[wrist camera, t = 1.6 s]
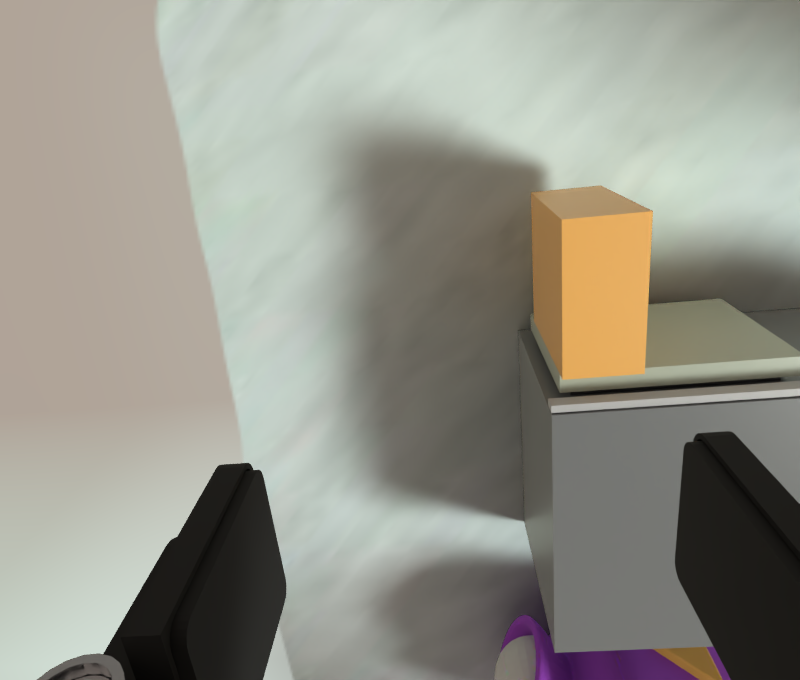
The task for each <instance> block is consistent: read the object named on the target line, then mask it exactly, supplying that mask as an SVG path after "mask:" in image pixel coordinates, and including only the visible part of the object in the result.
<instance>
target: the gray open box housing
mask: <svg viewBox="0 0 800 680" xmlns="http://www.w3.org/2000/svg"><path fill="white" fill-rule="evenodd" d="M743 314H745V315H746V316H748V317H749V318H751V319H752V320H754V321H755V322H757V323H758V324H760V325H761V326H762V327H764V328H765V329H767V330H768V331H770V332H771V333H773V334H774V335H776V336H777V337H779V338H780V339H782V340H783V341H785V342H786V343H788V344H789V345H791V346H792V347H794V348H795V349H797V350H798V351H800V308H795V309H782V310H769V311H757V312H744V313H743ZM518 341H519V371H520V402H521V432H522V463H523V493H524V522H525V527H526V531H527V535H528V540H529V544H530V548H531V553H532V557H533V561H534V566H535V570H536V574H537V579H538V583H539V587H540V592H541V596H542V600H543V605H544V609H545V613H546V618H547V622H548V626H549V631H550V635H551V639H552V644H553V648H554V652H555V653H562V652H587V651H613V650H638V649H663V648H689V647H714V646H713V645H712V643H711V641H710V639H709V637H708V635H707V633H706V631H705V629H704V627H703V625H702V624H701V622H700V620H699V618H698V616H697V614H696V612H695V610H694V608H693V606H692V605H691V603H690V601H689V599H688V597H687V595H686V593H685V591H684V589H683V587H682V585H681V584H680V581H679V579H678V576H677V573H676V568H675V551H676V538H677V526H678V513H679V500H680V488H681V475H682V463H683V450H684V446H685V443H687V442H693V439H694V437H695V435H696V434H697V433H708V432H723V431H731V432H733V433H734V434H735V435H736V436H737V437H738V438H739V439H740V440H741V441H742V442H743V443H744V444H745V445H746V446H747V448H748V449H749V450H750V451H751V452H752V453H753V454H754V455H755V456H756V457H757V458H758V459H759V461H760V462H761V463H762V464H763V465H764V466H765V467H766V468H767V469H768V470H769V471H770V472H771V474H772V475H773V476H774V477H775V478H776V479H777V480H778V481H779V482H780V483H781V484H782V485H783V487H784V488H785V489H786V490H787V491H788V492H789V493H790V494H791V495H792V496H793V497H794V498H795V500H796V501H797V502H798V503H799V504H800V376H791V377H777V378H763V379H749V380H735V381H721V382H707V383H693V384H679V385H665V386H651V387H637V388H623V389H609V390H595V391H581V392H567V393H560V392H559V390H558V388H557V386H556V383H555V381H554V379H553V377H552V375H551V372H550V370H549V368H548V366H547V364H546V361H545V359H544V357H543V355H542V353H541V350H540V348H539V346H538V344H537V341H536V339H535V337H534V335H533V333H532V330H518Z"/></svg>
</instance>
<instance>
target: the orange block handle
mask: <svg viewBox="0 0 800 680" xmlns="http://www.w3.org/2000/svg"><path fill="white" fill-rule="evenodd" d="M531 213H532V257H533V301H534V314H531V330H532V333H533V335H534V337H535V339H536V341H537V344H538V346H539V348H540V350H541V353H542V355H543V357H544V359H545V361H546V364H547V366H548V368H549V370H550V372H551V375H552V377H553V379H554V381H555V383H556V386H557V388H558V390H559V392H560V393H567V392H581V391H595V390H609V389H623V388H637V387H651V386H665V385H679V384H693V383H707V382H721V381H735V380H749V379H763V378H777V377H791V376H800V351H798V350H797V349H795V348H794V347H792V346H791V345H789V344H788V343H786V342H785V341H783V340H782V339H780V338H779V337H777V336H776V335H774V334H773V333H771V332H770V331H768V330H767V329H765V328H764V327H762V326H761V325H760V324H758V323H757V322H755V321H754V320H752V319H751V318H749V317H748V316H746V315H745V314H743V313H742V312H740V311H739V310H737V309H736V308H734V307H733V306H731V305H730V304H728V303H727V302H725V301H724V300H722V299H709V300H696V301H684V302H672V303H660V304H648V297H649V277H650V257H651V237H652V217H653V211H652V210H650V209H647V208H645V207H643V206H641V205H639V204H637V203H635V202H633V201H631V200H629V199H627V198H625V197H623V196H621V195H619V194H617V193H615V192H613V191H611V190H609V189H607V188H605V187H603V186H592V187H581V188H571V189H561V190H550V191H540V192H531Z"/></svg>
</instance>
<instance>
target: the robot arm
mask: <svg viewBox="0 0 800 680" xmlns="http://www.w3.org/2000/svg"><path fill="white" fill-rule="evenodd" d="M675 568H676V573H677V576H678V579H679V581H680V584H681V585H682V587H683V589H684V591H685V593H686V595H687V597H688V599H689V601H690V603H691V605H692V606H693V608H694V610H695V612H696V614H697V616H698V618H699V620H700V622H701V624H702V625H703V627H704V629H705V631H706V633H707V635H708V637H709V639H710V641H711V643H712V645H713V646H714V648H715V650H716V652H717V654H718V656H719V658H720V660H721V662H722V664H723V665H724V667H725V669H726V671H727V673H728V675H729V677H730V679H731V680H800V504H799V503H798V502H797V501H796V500H795V498H794V497H793V496H792V495H791V494H790V493H789V492H788V491H787V490H786V489H785V488H784V487H783V485H782V484H781V483H780V482H779V481H778V480H777V479H776V478H775V477H774V476H773V475H772V474H771V472H770V471H769V470H768V469H767V468H766V467H765V466H764V465H763V464H762V463H761V462H760V461H759V459H758V458H757V457H756V456H755V455H754V454H753V453H752V452H751V451H750V450H749V449H748V448H747V446H746V445H745V444H744V443H743V442H742V441H741V440H740V439H739V438H738V437H737V436H736V435H735V434H734V433H733V432H731V431H723V432H708V433H697V434H696V435H695V437H694V439H693V442H687V443H685V446H684V450H683V463H682V475H681V488H680V500H679V513H678V526H677V538H676V551H675ZM285 598H286V579H285V574H284V570H283V565H282V561H281V556H280V552H279V547H278V542H277V538H276V533H275V529H274V524H273V519H272V515H271V510H270V506H269V501H268V496H267V492H266V487H265V483H264V478H263V475H262V472H261V471H260V470H253V468H252V466H251V464H249V463H241V464H226V465H219V466H218V467H217V468H216V470H215V472H214V473H213V475H212V477H211V479H210V480H209V482H208V484H207V486H206V487H205V489H204V491H203V493H202V495H201V496H200V498H199V500H198V501H197V503H196V505H195V507H194V509H193V510H192V512H191V514H190V516H189V517H188V519H187V521H186V523H185V524H184V526H183V528H182V530H181V532H180V533H179V535H178V537H176V538H174V539H172V540H171V541H170V542H169V543H168V544H167V546H166V547H165V549H164V551H163V552H162V554H161V556H160V558H159V560H158V561H157V563H156V564H155V566H154V568H153V570H152V571H151V573H150V575H149V577H148V578H147V580H146V582H145V583H144V585H143V587H142V589H141V590H140V592H139V594H138V595H137V597H136V599H135V601H134V602H133V604H132V606H131V607H130V609H129V611H128V613H127V614H126V616H125V618H124V620H123V621H122V623H121V625H120V627H119V628H118V630H117V632H116V634H115V635H114V637H113V638H112V640H111V642H110V644H109V645H108V647H107V649H106V651H105V652H104V654H90V655H83V656H80V657H77V658H73V659H70V660H68V661H65V662H63V663H62V664H60V665H58V666H56V667H54V668H52V669H50V670H49V671H48V672H46V673H45V674H44V675H43V676H42V677H40V678H39V679H37V680H263V677H264V673H265V670H266V666H267V663H268V659H269V655H270V652H271V649H272V645H273V641H274V638H275V634H276V631H277V627H278V624H279V620H280V617H281V613H282V610H283V606H284V602H285Z"/></svg>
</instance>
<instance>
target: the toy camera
mask: <svg viewBox="0 0 800 680" xmlns="http://www.w3.org/2000/svg"><path fill="white" fill-rule="evenodd" d="M494 680H731V679H730V677H729V675H728V673H727V671H726V669H725V667H724V665H723V664H722V662H721V660H720V658H719V656H718V654H717V652H716V650H715V648H714V647H689V648H663V649H638V650H613V651H587V652H562V653H555V652H554V648H553V644H552V639H551V635H549V636H548V634H547V633H546V632H545V631H544V629H543V628H542V627H541V626H540V625H539V624H538V623H537V622H536V621H535V620H534V619H533V618H532V617H530V616H528V615H521V616H519V617H518V618H516V619H515V620H514V622H513V623H512V624H511V626H510V627H509V629H508V631H507V634H506V636H505V639H504V642H503V645H502V648H501V652H500V655H499V657H498V660H497V663H496V667H495V674H494Z"/></svg>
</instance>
